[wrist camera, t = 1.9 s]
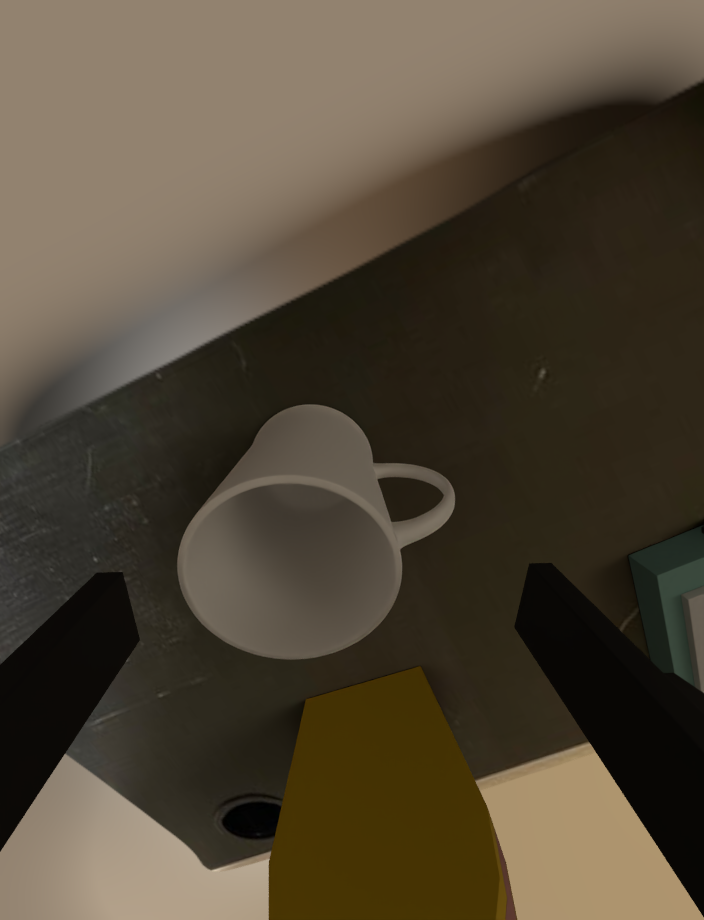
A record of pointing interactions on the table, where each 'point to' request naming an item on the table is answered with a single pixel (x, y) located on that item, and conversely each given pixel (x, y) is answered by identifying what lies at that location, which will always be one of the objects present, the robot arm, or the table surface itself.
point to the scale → (673, 603)
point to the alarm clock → (384, 814)
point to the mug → (301, 539)
